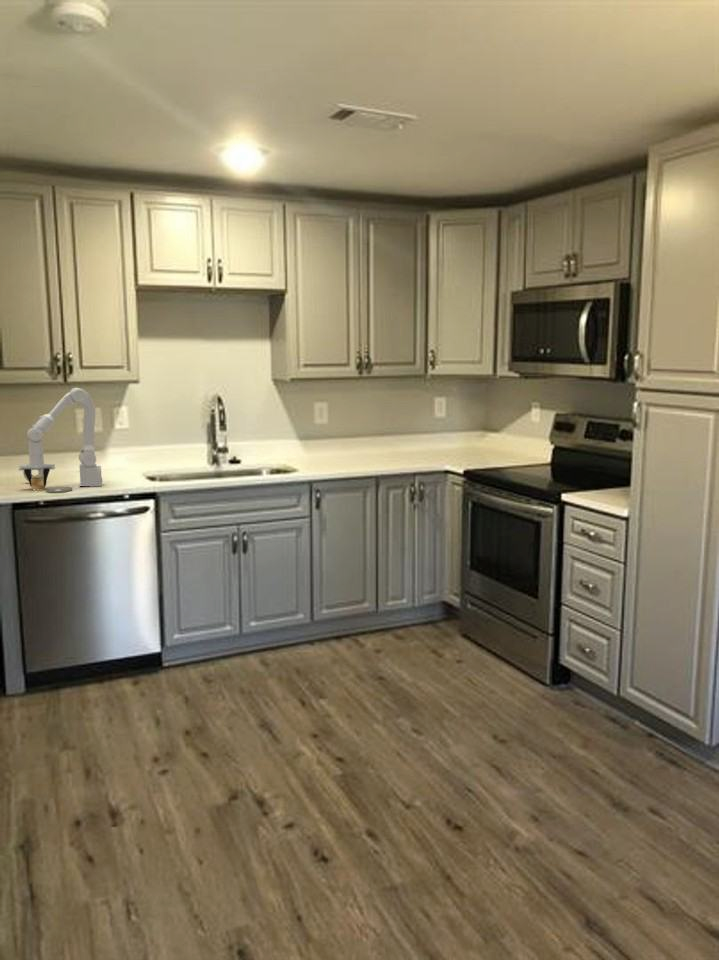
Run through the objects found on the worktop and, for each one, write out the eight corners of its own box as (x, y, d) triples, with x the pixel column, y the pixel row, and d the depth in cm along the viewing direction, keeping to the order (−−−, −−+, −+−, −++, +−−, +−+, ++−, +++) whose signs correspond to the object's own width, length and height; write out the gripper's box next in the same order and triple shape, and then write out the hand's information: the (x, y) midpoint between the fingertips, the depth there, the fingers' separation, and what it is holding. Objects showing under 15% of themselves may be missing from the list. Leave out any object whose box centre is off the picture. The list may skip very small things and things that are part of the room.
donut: (47, 481, 369) (46, 460, 368) (46, 483, 366) (45, 461, 365) (24, 482, 366) (22, 461, 365) (23, 484, 363) (22, 462, 362)
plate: (73, 488, 353) (72, 486, 352) (71, 492, 342) (71, 490, 342) (46, 489, 350) (46, 487, 349) (44, 493, 339) (43, 491, 339)
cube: (45, 487, 353) (44, 476, 352) (43, 489, 348) (43, 478, 348) (32, 488, 352) (32, 477, 351) (31, 490, 347) (30, 479, 346)
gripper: (17, 457, 342) (19, 488, 344) (53, 456, 346) (54, 486, 348) (19, 455, 349) (21, 485, 351) (54, 453, 353) (56, 484, 355)
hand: (38, 486), depth 350 cm, fingers closed on cube, 5 cm apart
